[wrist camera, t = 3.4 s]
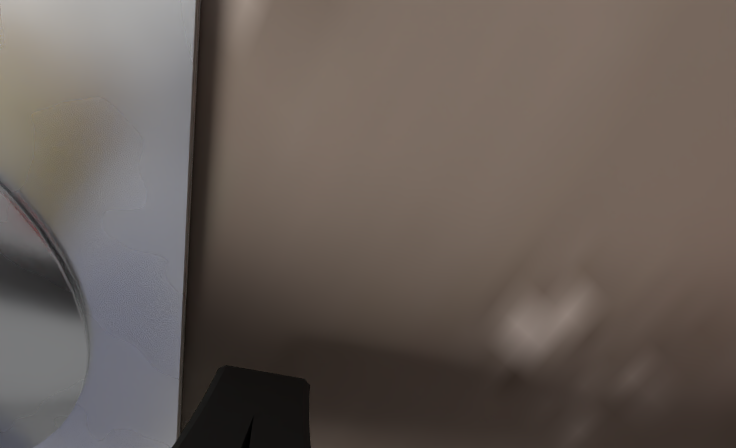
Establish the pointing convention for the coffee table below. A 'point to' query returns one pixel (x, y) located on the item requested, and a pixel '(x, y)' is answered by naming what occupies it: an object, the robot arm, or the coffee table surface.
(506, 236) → the coffee table surface
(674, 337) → the coffee table surface
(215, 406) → the robot arm
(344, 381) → the coffee table surface
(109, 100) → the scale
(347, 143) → the coffee table surface
